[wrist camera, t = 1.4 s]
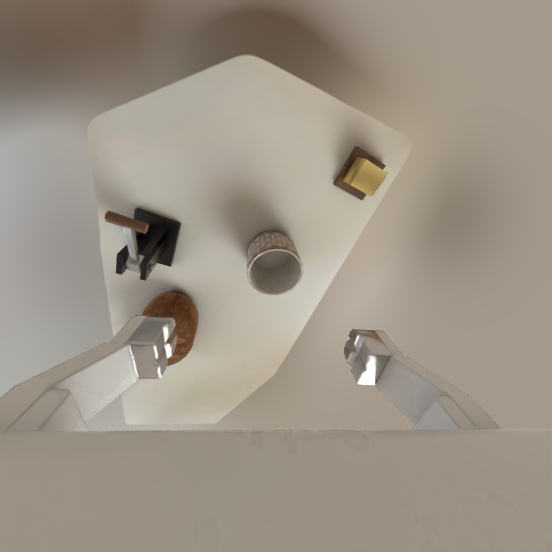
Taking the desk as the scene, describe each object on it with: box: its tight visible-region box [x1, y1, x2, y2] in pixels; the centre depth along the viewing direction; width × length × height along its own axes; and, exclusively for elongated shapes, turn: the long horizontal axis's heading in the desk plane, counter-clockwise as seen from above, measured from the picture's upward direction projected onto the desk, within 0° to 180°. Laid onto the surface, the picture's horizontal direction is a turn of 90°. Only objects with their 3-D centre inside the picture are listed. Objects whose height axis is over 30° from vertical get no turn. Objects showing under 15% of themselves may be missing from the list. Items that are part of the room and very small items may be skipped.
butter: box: [334, 147, 388, 200], centre depth 43 cm, size 8×8×5 cm
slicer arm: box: [105, 211, 149, 273], centre depth 34 cm, size 14×5×2 cm, turn 154°
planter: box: [247, 231, 303, 295], centre depth 49 cm, size 13×13×10 cm
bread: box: [141, 292, 198, 366], centre depth 60 cm, size 16×29×11 cm, turn 157°
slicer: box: [116, 208, 181, 280], centre depth 43 cm, size 12×9×13 cm
